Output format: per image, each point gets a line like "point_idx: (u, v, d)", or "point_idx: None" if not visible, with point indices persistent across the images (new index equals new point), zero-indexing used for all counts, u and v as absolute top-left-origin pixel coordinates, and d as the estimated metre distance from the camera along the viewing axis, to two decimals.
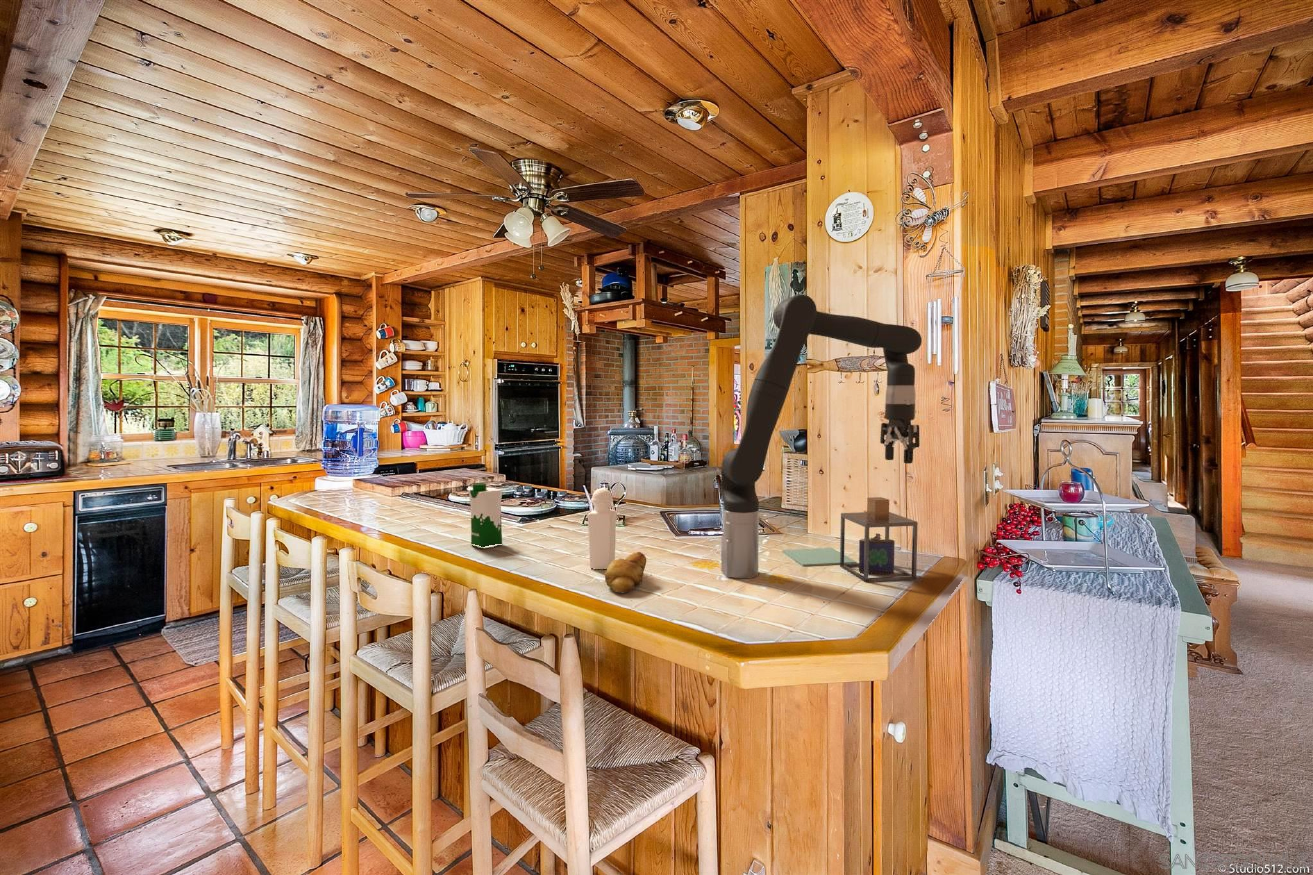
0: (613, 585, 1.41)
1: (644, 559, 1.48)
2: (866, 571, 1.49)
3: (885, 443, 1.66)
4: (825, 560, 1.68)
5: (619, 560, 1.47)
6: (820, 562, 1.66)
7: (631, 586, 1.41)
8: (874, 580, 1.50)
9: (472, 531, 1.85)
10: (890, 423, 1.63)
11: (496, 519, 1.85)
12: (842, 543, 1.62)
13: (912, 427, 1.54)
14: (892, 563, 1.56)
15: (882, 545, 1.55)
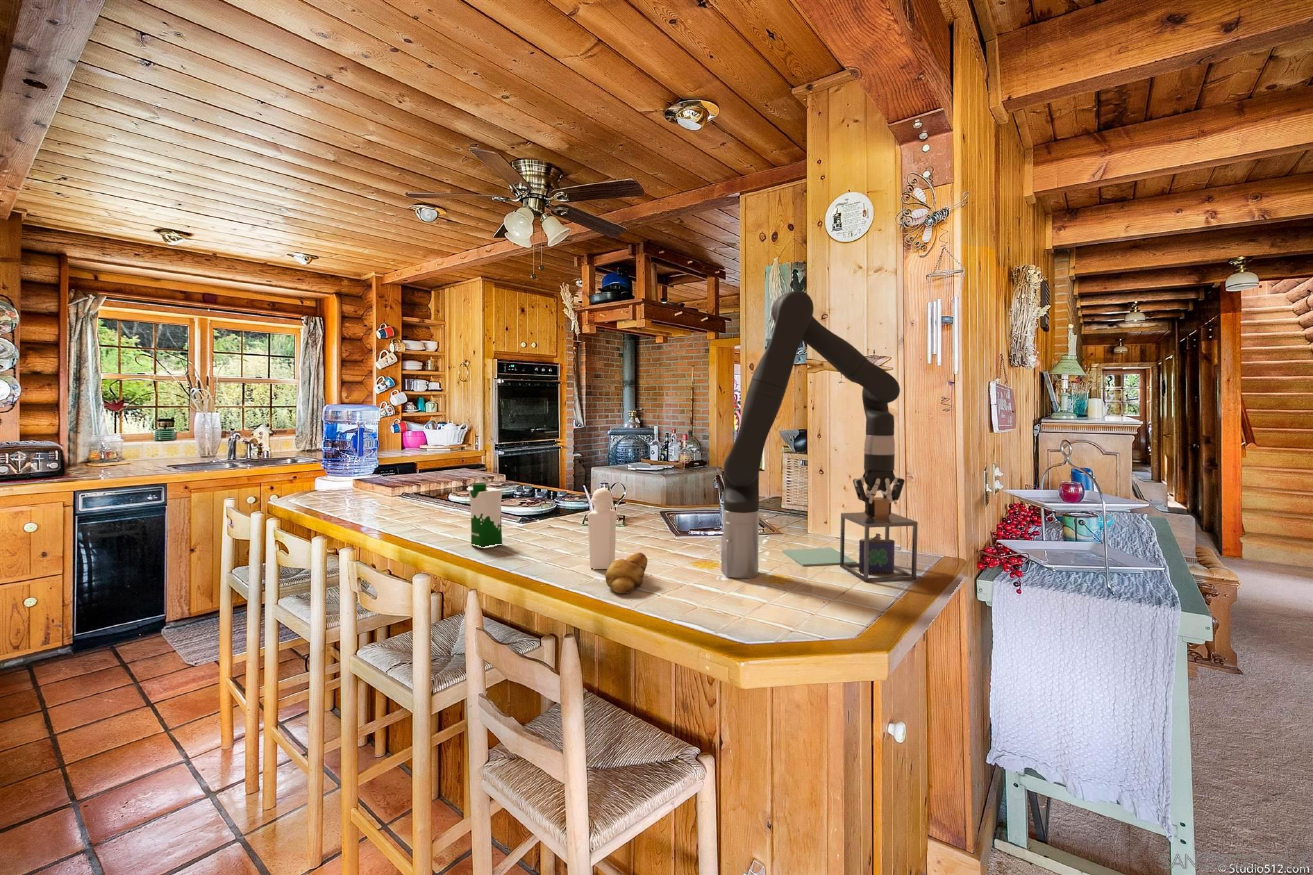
0: (613, 586, 1.40)
1: (645, 560, 1.47)
2: (866, 571, 1.49)
3: (871, 500, 1.54)
4: (825, 560, 1.68)
5: (620, 560, 1.47)
6: (820, 562, 1.66)
7: (631, 587, 1.40)
8: (874, 580, 1.50)
9: (472, 531, 1.85)
10: (870, 474, 1.54)
11: (496, 519, 1.85)
12: (842, 543, 1.62)
13: None
14: (892, 563, 1.56)
15: (882, 545, 1.55)
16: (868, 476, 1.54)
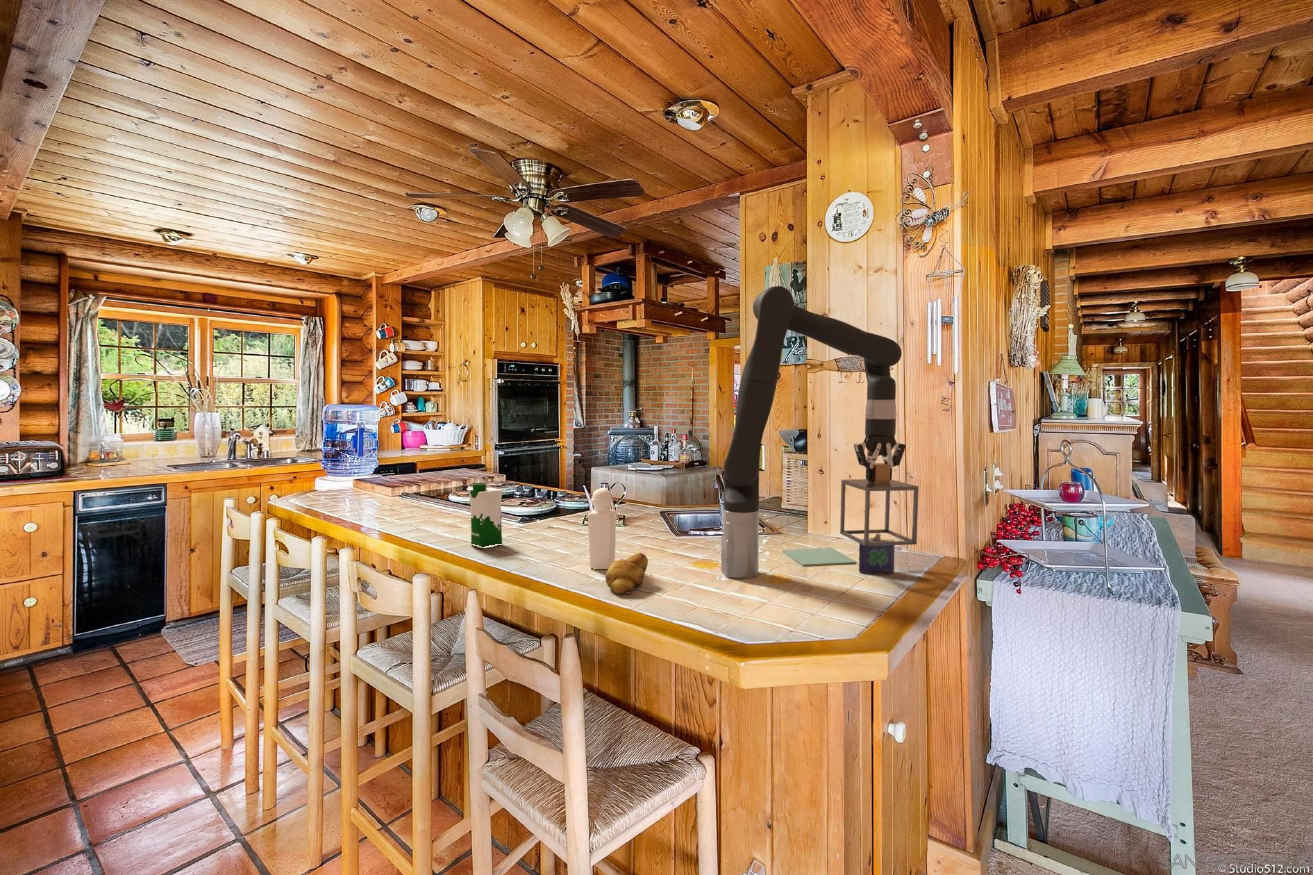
0: (613, 586, 1.40)
1: (645, 560, 1.47)
2: (866, 535, 1.49)
3: (872, 464, 1.54)
4: (825, 560, 1.68)
5: (620, 561, 1.46)
6: (820, 562, 1.66)
7: (631, 587, 1.40)
8: (874, 544, 1.49)
9: (472, 531, 1.85)
10: (871, 439, 1.53)
11: (496, 519, 1.85)
12: (842, 510, 1.61)
13: None
14: (892, 563, 1.56)
15: None
16: (869, 441, 1.53)
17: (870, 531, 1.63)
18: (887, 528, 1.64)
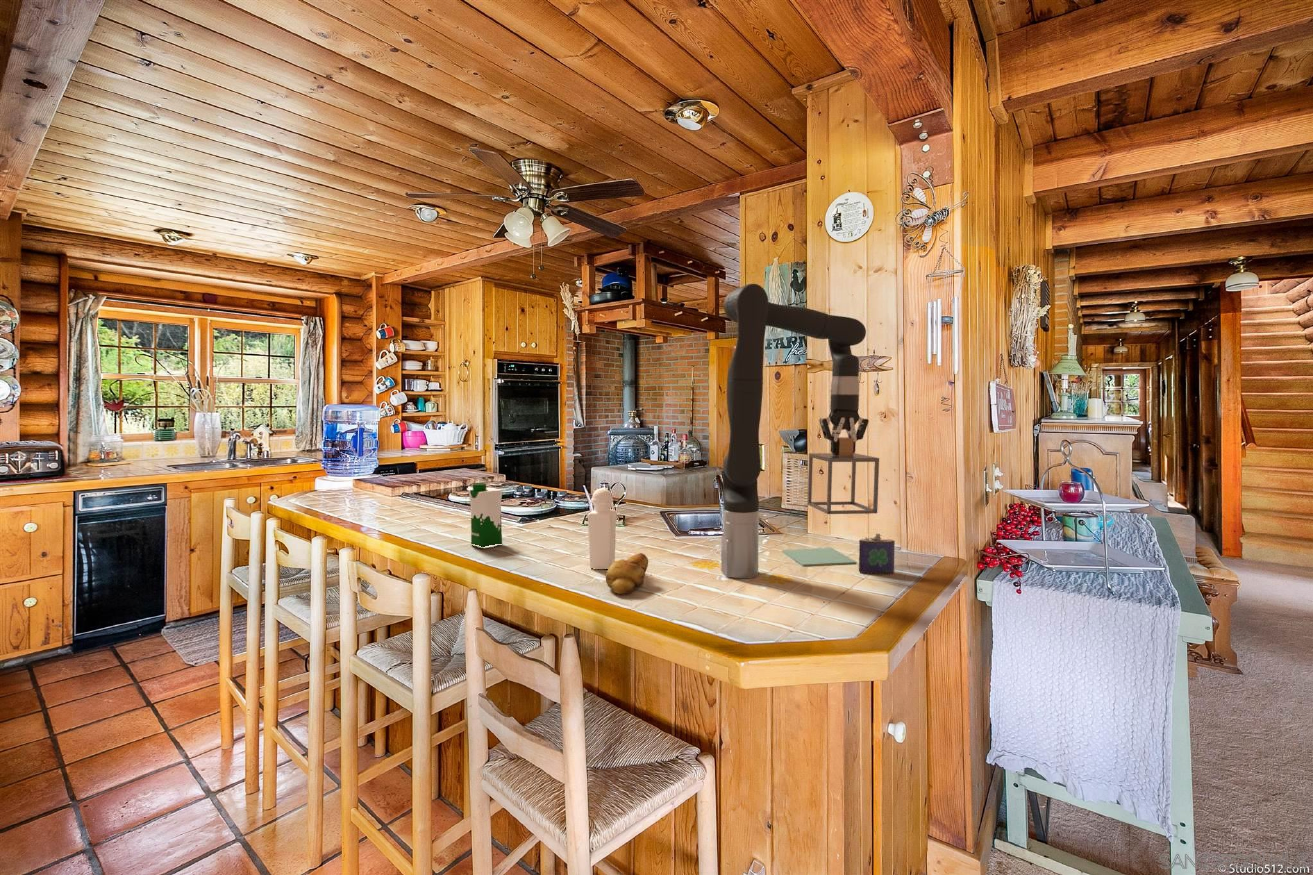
0: (613, 586, 1.40)
1: (646, 560, 1.47)
2: (829, 504, 1.57)
3: (836, 438, 1.62)
4: (825, 560, 1.68)
5: (620, 561, 1.46)
6: (820, 562, 1.66)
7: (631, 587, 1.40)
8: (836, 512, 1.58)
9: (472, 531, 1.85)
10: (836, 413, 1.62)
11: (496, 519, 1.85)
12: (810, 482, 1.70)
13: None
14: (892, 563, 1.56)
15: (882, 545, 1.55)
16: (833, 415, 1.62)
17: (836, 503, 1.71)
18: (853, 500, 1.72)
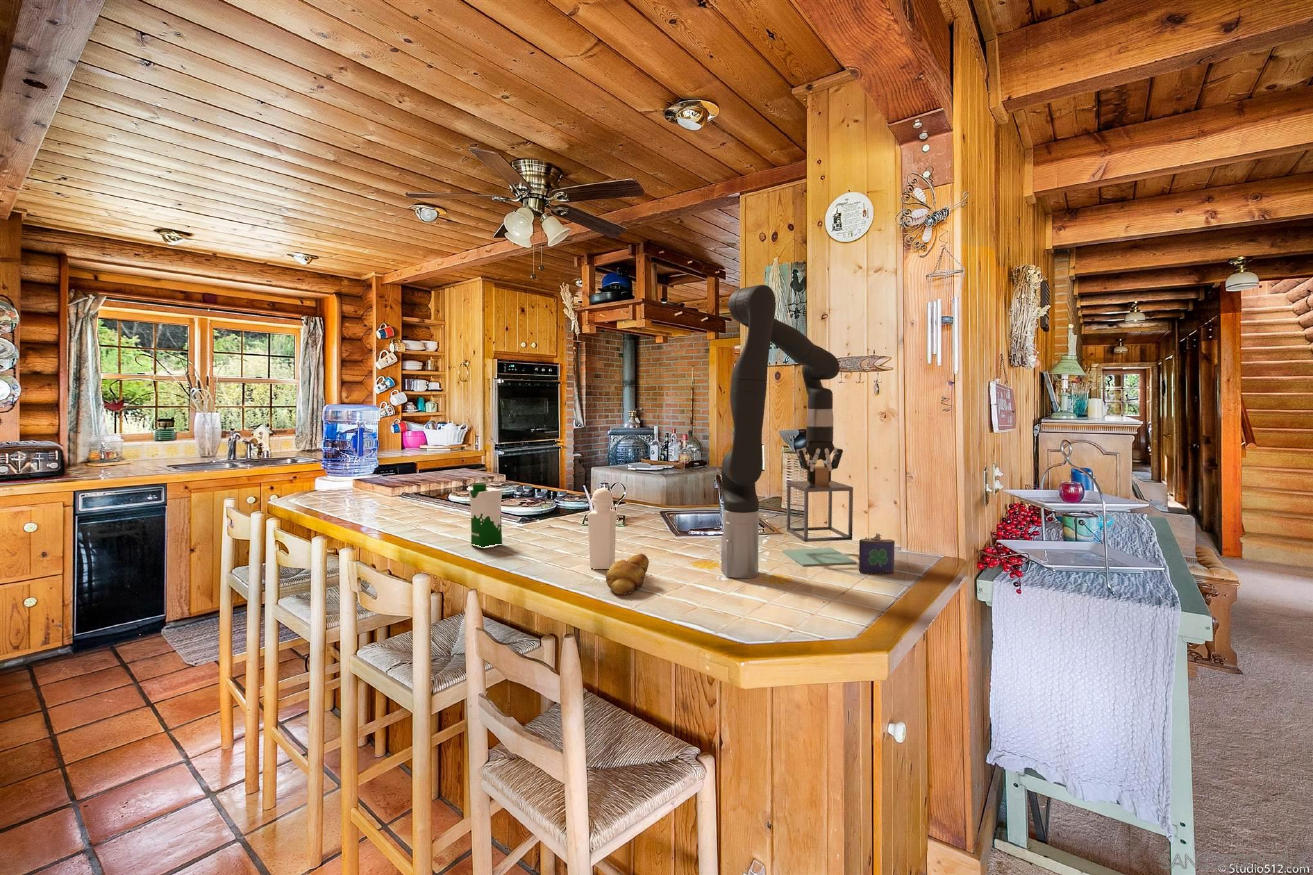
0: (613, 586, 1.40)
1: (646, 561, 1.47)
2: (806, 532, 1.64)
3: (812, 468, 1.69)
4: (825, 560, 1.68)
5: (621, 561, 1.46)
6: (820, 562, 1.66)
7: (631, 588, 1.40)
8: (813, 540, 1.65)
9: (472, 531, 1.85)
10: (811, 444, 1.69)
11: (496, 519, 1.85)
12: (788, 509, 1.77)
13: None
14: (892, 563, 1.56)
15: (882, 545, 1.55)
16: (809, 446, 1.69)
17: (814, 528, 1.79)
18: (830, 526, 1.79)
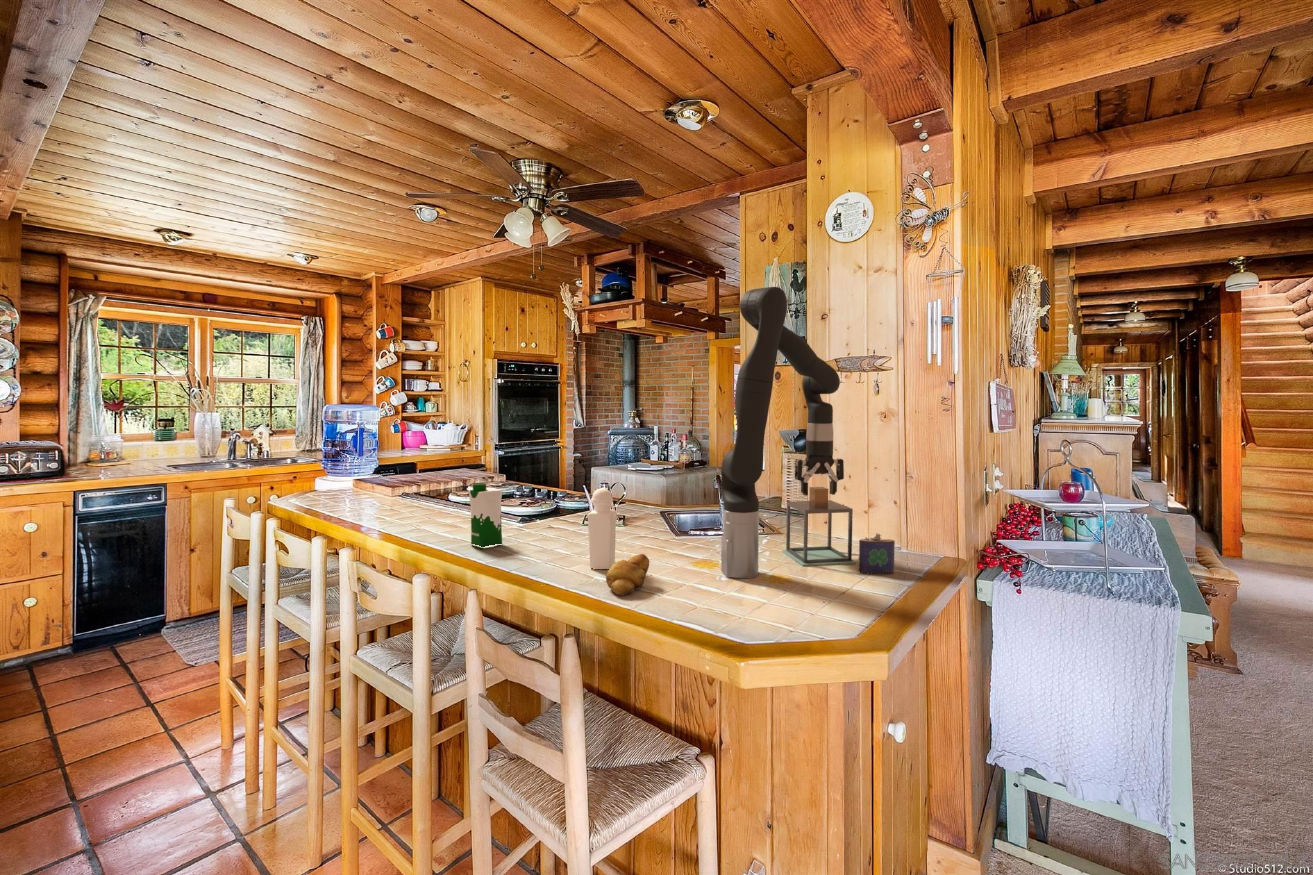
0: (613, 587, 1.40)
1: (646, 561, 1.46)
2: (805, 553, 1.65)
3: (806, 479, 1.69)
4: None
5: (621, 562, 1.46)
6: None
7: (631, 588, 1.39)
8: (813, 561, 1.65)
9: (472, 531, 1.85)
10: (812, 459, 1.69)
11: (496, 519, 1.85)
12: (788, 529, 1.77)
13: None
14: (892, 563, 1.56)
15: (882, 545, 1.55)
16: (810, 460, 1.69)
17: (814, 548, 1.79)
18: (829, 545, 1.80)
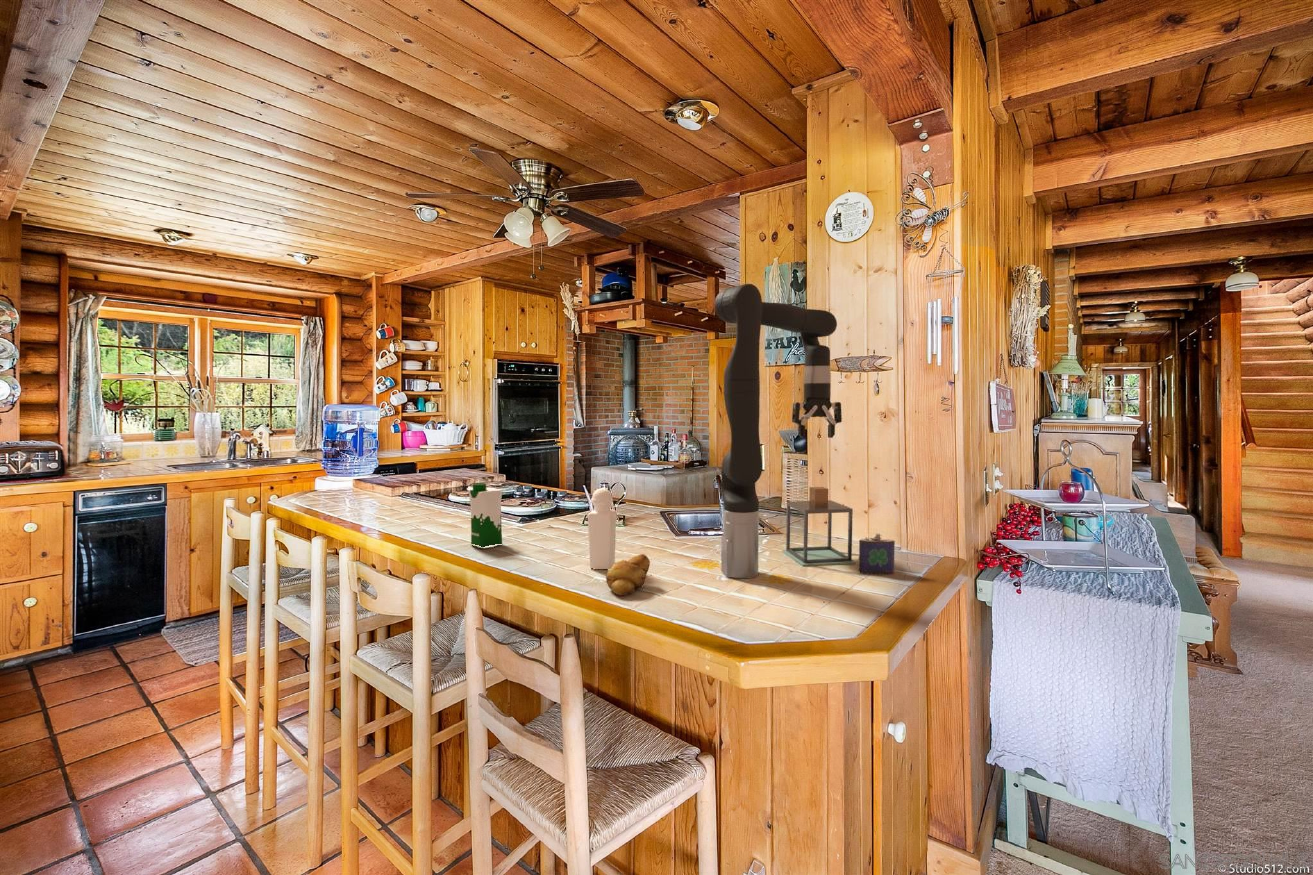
0: (613, 587, 1.39)
1: (647, 562, 1.46)
2: (805, 553, 1.65)
3: (803, 422, 1.70)
4: None
5: (621, 562, 1.45)
6: None
7: (631, 589, 1.39)
8: (813, 561, 1.65)
9: (472, 531, 1.85)
10: (810, 402, 1.70)
11: (496, 519, 1.85)
12: (788, 529, 1.77)
13: None
14: (892, 563, 1.56)
15: (882, 545, 1.55)
16: (807, 403, 1.70)
17: (814, 548, 1.79)
18: (829, 545, 1.80)
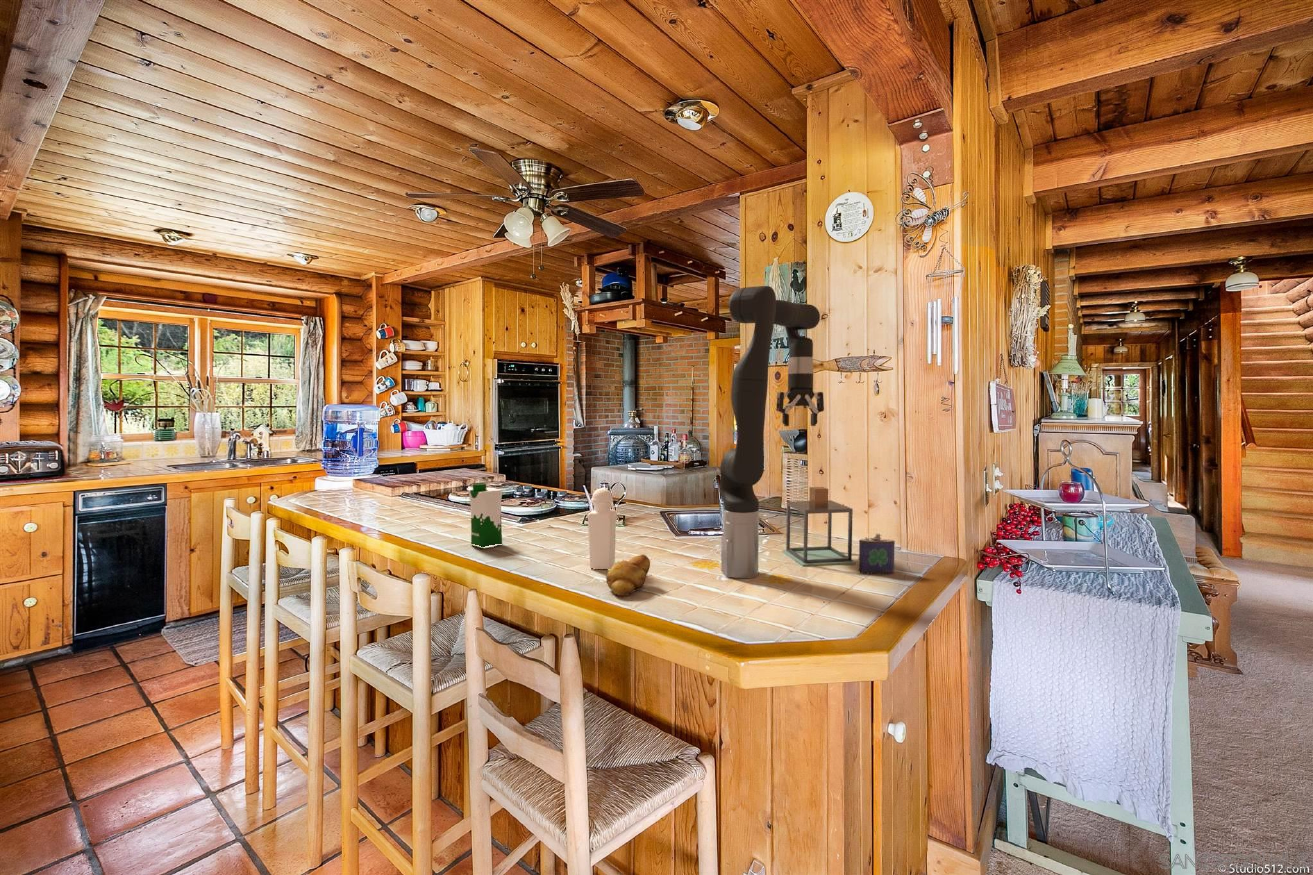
0: (612, 587, 1.39)
1: (647, 562, 1.45)
2: (805, 553, 1.65)
3: (787, 410, 1.78)
4: None
5: (622, 562, 1.45)
6: None
7: (630, 589, 1.39)
8: (813, 561, 1.65)
9: (472, 531, 1.85)
10: (793, 391, 1.78)
11: (496, 519, 1.85)
12: (788, 529, 1.77)
13: None
14: (892, 563, 1.56)
15: (882, 545, 1.55)
16: (791, 392, 1.78)
17: (814, 548, 1.79)
18: (829, 545, 1.80)
